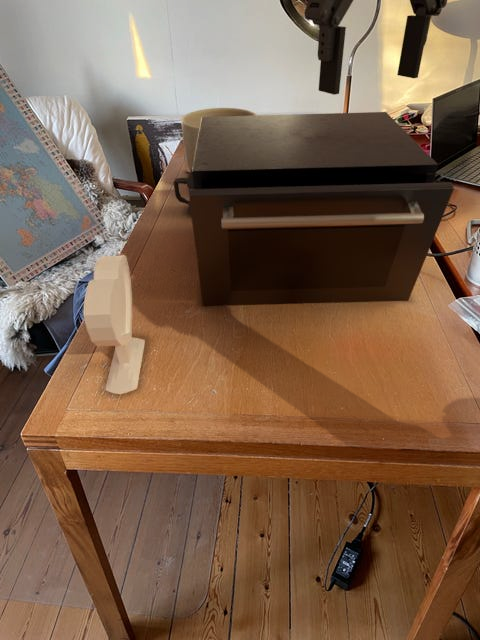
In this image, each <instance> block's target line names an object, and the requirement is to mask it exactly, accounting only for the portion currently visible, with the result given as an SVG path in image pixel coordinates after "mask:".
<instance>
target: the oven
mask: <svg viewBox="0 0 480 640" xmlns="http://www.w3.org/2000/svg"><path fill="white" fill-rule="evenodd" d="M438 166H439V164H438V163H437V162H436V161H435V160H434V159H433V158H432V157H431V156H430V154H428V153H427V151H425V149H423V147H422V146H420V144H418V143H417V141H416V140H415V139H414V138H413V137H411V135H409V134H408V133H407V132H406V130H405V129H404V128H403V127H401V126H400V125H399V123H397V121H396V120H395V119H394V118H393V117H392V116H390V115H389V113H387V112H386V111H372V112H371V111H370V112H334V113H302V114H301V113H299V114H298V113H297V114H295V113H294V114H293V113H292V114H265V115H264V114H260V115H257V116H222V117H202V119H201V124H200V130H199V135H198V141H197V146H196V151H195V157H194V162H193V168H192V179H193V189H225V188H262V187H298V186H335V185H371V184H407V183H435V179H436V175H437V171H438Z"/></svg>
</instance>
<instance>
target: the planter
mask: <svg viewBox="0 0 480 640" xmlns="http://www.w3.org/2000/svg"><path fill="white" fill-rule="evenodd" d="M222 116H258V115H257V114H256V113H255V112H253V111H251V110H248V109H243V108H235V107H214V108H213V107H211V108H204V109H199V110H195V111H191V112H188V113H186V114H185V115H183V116H182V117H181V119H180V120H181V129H182V130H181V132H182V140H183V139H184V146H185V151H186V157H187V162H188V167H189V171H190V170H191V169H192V168H193V162H194V157H195V151H196V146H197V141H198V135H199V130H200V124H201V119H202V117H222Z"/></svg>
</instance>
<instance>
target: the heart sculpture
mask: <svg viewBox="0 0 480 640" xmlns="http://www.w3.org/2000/svg"><path fill="white" fill-rule="evenodd" d="M83 319H84V323H85V328H86V331H87V333H88V336H89V339H90V341H91V342H92V343H93V344H94V345H95V346H96V347H114V348H115V349H114V351H113V356H112V360H111V364H110V368H109V371H108V372H109V373H108V376H107V381H106V385H105V389H104V390H105V391H106V392H108V393H110V394H111V393H112V394H114V395H123V394H127V393H130V392H132V391H135V390H137V389H138V385H139V380H140V372H141V367H142V361H143V357H144V351H145V344H146V340H145V339H142V338H139V337H133V336H132V335H133V333H132V332H133V292H132V280H131V272H130V266H129V263H128V258H127V256H126V255H124V254H123V255H121V254H120V255H101V256H100V257H98V259H97V260H96V262H95V264H94V269H93V279H90V280H89V281H88V284H87V286H86V290H85V295H84V301H83Z"/></svg>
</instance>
